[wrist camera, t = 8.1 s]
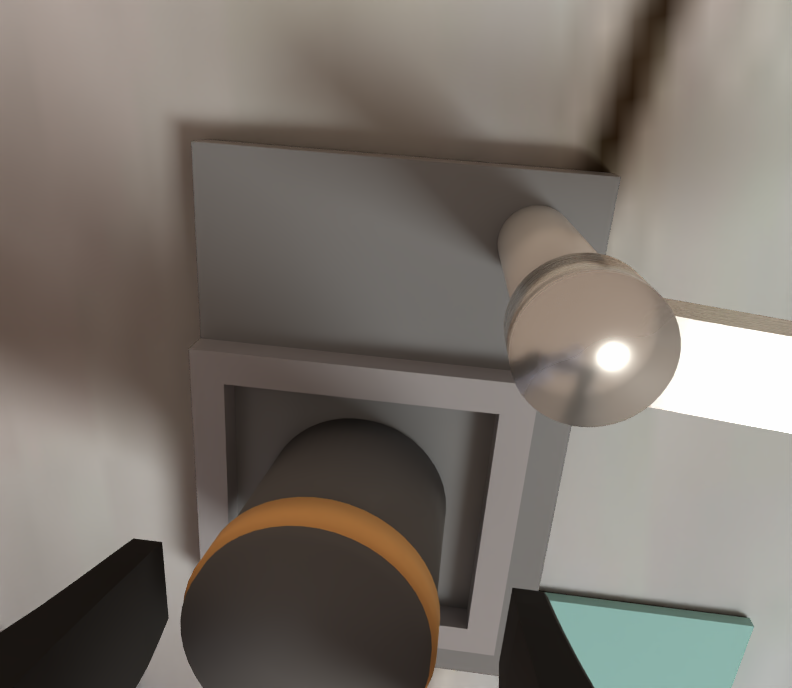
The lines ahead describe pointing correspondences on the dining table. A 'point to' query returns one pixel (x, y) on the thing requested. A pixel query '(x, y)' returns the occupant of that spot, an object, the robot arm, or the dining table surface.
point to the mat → (652, 643)
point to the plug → (325, 569)
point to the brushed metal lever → (640, 350)
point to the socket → (386, 340)
